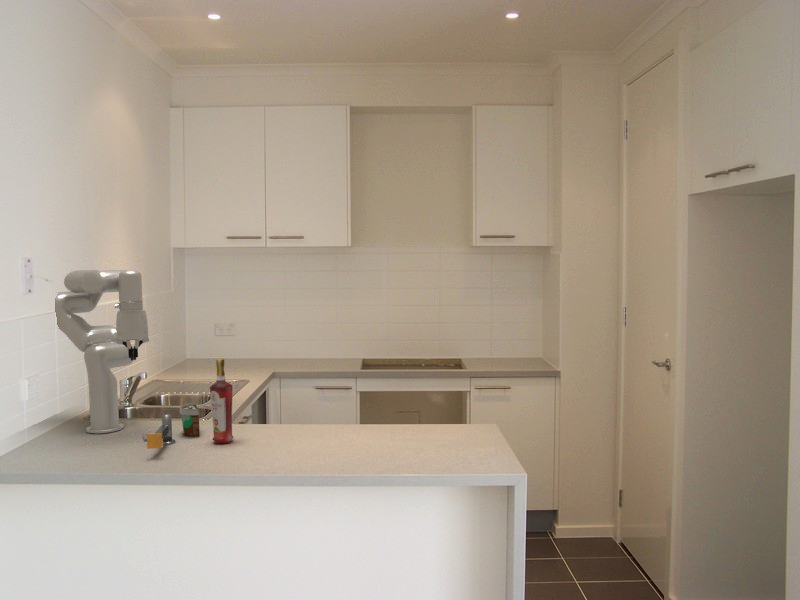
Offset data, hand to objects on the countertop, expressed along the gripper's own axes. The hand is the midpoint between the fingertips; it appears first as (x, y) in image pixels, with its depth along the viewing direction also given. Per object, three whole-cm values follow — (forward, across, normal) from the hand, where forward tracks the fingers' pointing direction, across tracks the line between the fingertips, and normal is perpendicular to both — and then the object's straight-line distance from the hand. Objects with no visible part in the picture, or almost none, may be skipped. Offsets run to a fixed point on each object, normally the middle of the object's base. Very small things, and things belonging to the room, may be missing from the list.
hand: (133, 359), depth 240 cm
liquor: (+27, +26, -21) cm, 43 cm away
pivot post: (+27, +9, -13) cm, 31 cm away
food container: (+27, +17, -5) cm, 33 cm away
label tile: (+27, +5, -4) cm, 28 cm away
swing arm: (+24, +6, -23) cm, 34 cm away
